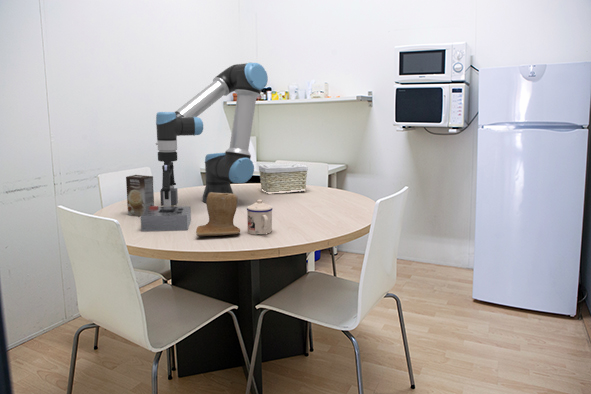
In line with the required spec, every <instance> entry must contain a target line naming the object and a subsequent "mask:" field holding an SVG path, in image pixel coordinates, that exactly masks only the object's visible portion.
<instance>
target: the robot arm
mask: <svg viewBox="0 0 591 394" xmlns="http://www.w3.org/2000/svg"><path fill="white" fill-rule="evenodd" d="M267 84H268V73H267V71H266V69H265V67H264V66H263V65H262V64H260V63H258V62H248V63H247V62H246V63H237V64H233V65H230V66H229V67H227V68H225V69H224V70H223V71H221V72H220V73H219V74H218V75H216V76H215V77H213V79H212V82H211V83H210V84H209V85H207V86H205V88H203V89H202V90H201V91H199V93H197V94H195V96H193V97H192V98H191V99H189V100H188V101H187V102H186V103H184V104H183V105H182V106H181V107H179V108H178V109H177V110H175V111H158V112H157V113H156V116H155V125H156V127H155V128H156V141H157V142H156V143H155V145H156V146H157V151H158V152H157V160H158V162H163V165H162V166H161V169H162V180H161V182H162V183H161V184H162V185H161V186H162V188H161V189H160V191H163V201H164V206H163V207H171V192H170V188H175V186H176V185H177V183H176V181H175V173H174V171H175V170H174V162H177V161H178V152H177V151H178V139H177V136H179V137H181V136H187V137H188V136H194V137H195V136H200V135H201V134H202V133H203V132H204V122H203V119H201V118H200V117H199V116H200V115H202V114H203V112H205V111H206V110H208V109H209V108H210V107H211V106H212V105H214V104H215V103H216V102H217V101H219V100H220V99H221V98H222V97H227V96H228V95H229V94H231V93H233V92H234V93H235V94H236V96H237V97H236V103H235V110H234V114H233V115H234V116H233V121H232V122H233V123H232V130H231V136H230V143H229V147H228V149H226V150H225V152H216V153H208V154H205V156H204V157H205V159H204V166H205V167H204V168H205V169H204V170H205V187H204V191H203V193H202V200H201V201H202V202H203V203H205V204H206V200H207V196H208V194H209V193H210V192H213V193H231V194H234V191H233V189H232V185H231V183H233V184H244V183H247V182H248V181H249V180H250V179H251V178H252V176H253V175H254V171H255V166H254V163H253V161H252V160H251V158H252V154H251V153H250V152H249V149H250V142H251V135H252V128H253V122H254V121H253V120H254V117H255V116H254V115H255V111H256V110H255V109H256V102H257V99H258V98H259V97H261V92H262V90H263V89H264V88H265V87H267Z"/></svg>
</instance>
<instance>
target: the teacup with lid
mask: <svg viewBox="0 0 591 394" xmlns="http://www.w3.org/2000/svg"><path fill="white" fill-rule="evenodd" d="M246 211H247V214H246V216H247V233H248V234H250V235H253V234H266V233H269V234H271V233H272V232H273V207H272V205H269V204H267V203H266V202H263V200H262V199H257V200H256V202H254V203H253V204H251V205H248V206H247V207H246ZM271 231H272V232H271ZM270 232H271V233H270ZM266 235H267V234H266Z"/></svg>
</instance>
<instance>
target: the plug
mask: <svg viewBox="0 0 591 394" xmlns="http://www.w3.org/2000/svg"><path fill="white" fill-rule="evenodd" d="M170 192H171V207H176V206H178V203H179V200H178V198H179V196H178V195H179V194H178V188H175V187H174V188H170ZM159 194H160V195H159V196H160V207H164V201H163V191H161V190H160V191H159Z"/></svg>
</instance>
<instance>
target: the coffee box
mask: <svg viewBox="0 0 591 394" xmlns="http://www.w3.org/2000/svg"><path fill="white" fill-rule="evenodd" d="M125 180H126V181H125V182H126V183H125V184H126V202H127V203H126V204H127V215H128V216H134V217H141V215H142V214H143V213H144V212H145V210H146V209H147V208H148V207H150V206H155V197H154V195H155V194H154V192H155V191H154V176H153V175H141V174H132V175H129V176H125Z"/></svg>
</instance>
